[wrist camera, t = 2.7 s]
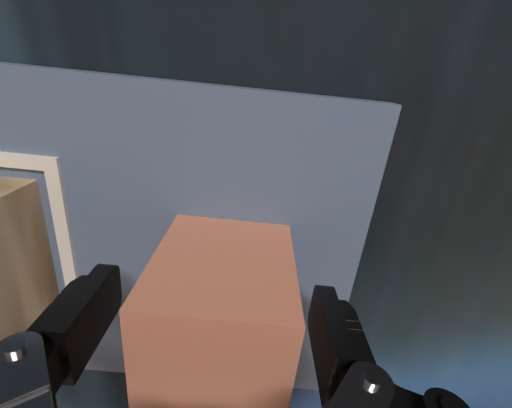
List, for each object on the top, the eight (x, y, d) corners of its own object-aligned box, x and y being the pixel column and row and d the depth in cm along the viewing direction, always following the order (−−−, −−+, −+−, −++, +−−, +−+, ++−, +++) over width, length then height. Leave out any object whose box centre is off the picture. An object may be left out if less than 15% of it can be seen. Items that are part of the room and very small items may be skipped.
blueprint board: (390, 102, 13) (404, 105, 12) (320, 372, 19) (324, 394, 18) (-202, 40, 12) (-256, 37, 11) (-72, 336, 19) (-97, 356, 18)
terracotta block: (289, 225, 14) (305, 328, 8) (275, 312, 16) (281, 441, 10) (177, 214, 14) (118, 311, 8) (177, 302, 16) (131, 428, 10)
